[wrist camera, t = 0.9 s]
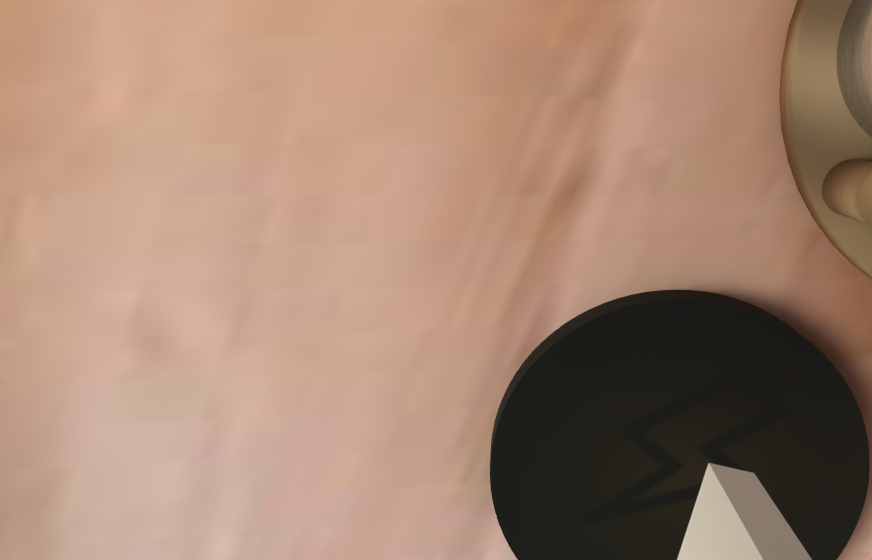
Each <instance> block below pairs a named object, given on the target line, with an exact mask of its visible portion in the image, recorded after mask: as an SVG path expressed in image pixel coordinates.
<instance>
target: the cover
mask: <svg viewBox="0 0 872 560" xmlns="http://www.w3.org/2000/svg"><path fill="white" fill-rule="evenodd" d="M836 60H837V76H838V81H839V86H840V90H841V93H842V96H843V99H844V102H845V104H846V106H847V108H848V110H849V111H850V113H851V115H852V116H853V118H854V119H855V121H856V122H857V123H858V125H859V126H860V127H861V128H862V129H863V130H864V131H865V132H866V133H867V134H868V135H869V136H870V137H872V0H853V1H852V3H851V5H850V7H849V9H848V11H847V13H846V16H845V19H844V21H843V24H842V27H841V31H840V36H839V40H838V46H837V58H836Z"/></svg>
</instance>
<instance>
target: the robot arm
mask: <svg viewBox="0 0 872 560" xmlns="http://www.w3.org/2000/svg"><path fill="white" fill-rule="evenodd" d="M677 560H812V559H811V557H810V556H809V554H808V553H807V551H806V550H805V548H804V547H803V545H802V544H801V542H800V541H799V539H798V538H797V537H796V535H795V534H794V532H793V531H792V529H791V528H790V526H789V525H788V523H787V522H786V520H785V519H784V517H783V516H782V514H781V513H780V511H779V510H778V508H777V507H776V505H775V504H774V502H773V501H772V499H771V498H770V496H769V495H768V493H767V492H766V490H765V489H764V487H763V486H762V484H761V483H760V481H759V480H758V478H757V477H756V475H755V474H754V473H751V472H747V471H742V470H738V469H734V468H729V467H725V466H720V465H716V464H711V463H708V466H707V469H706V472H705V475H704V478H703V482H702V485H701V488H700V491H699V494H698V497H697V500H696V503H695V506H694V509H693V512H692V515H691V518H690V522H689V525H688V528H687V531H686V534H685V537H684V540H683V543H682V546H681V549H680V552H679V555H678V558H677Z"/></svg>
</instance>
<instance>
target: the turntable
mask: <svg viewBox="0 0 872 560" xmlns="http://www.w3.org/2000/svg"><path fill="white" fill-rule="evenodd" d="M852 1H853V0H798V1H797V4H796V7H795V10H794V13H793V16H792V19H791V22H790V25H789V29H788V34H787V39H786V44H785V49H784V53H783V58H782V67H781V81H780V112H781V128H782V134H783V139H784V144H785V149H786V153H787V158H788V162H789V165H790V168H791V171H792V174H793V176H794V179H795V182H796V185H797V188H798V190H799V192H800V194H801V196H802V198H803V200H804V202H805V204H806V206H807V208H808V209H809V211H810V213H811V215H812V217H813V219H814V220H815V221H816V223H817V224H818V226H819V227H820V228H821V230H822V231H823V232H824V234H825V235H826V236H827V238H828V239H829V241H830V242H831V243H832V244H833V245H834V246H835V247H836V248H837V249H838V250H839V251H840V252H841V253H842V254H843V255H844V256H845V257H846V258H847V259H848V260H849V261H850V262H851V263H852V264H853V265H854V266H855V267H856V268H858V269H859V270H860V271H862V272H863V273H864V274H866V275H867V276H868V277H870V278H871V279H872V137H870V136H869V135H868V134H867V133H866V132H865V131H864V130H863V129H862V128H861V127H860V126H859V125H858V123H857V122H856V121H855V119H854V118H853V116H852V115H851V113H850V111H849V110H848V108H847V106H846V104H845V102H844V99H843V96H842V93H841V90H840V86H839V81H838V76H837V60H836V58H837V46H838V40H839V36H840V31H841V27H842V24H843V21H844V19H845V16H846V13H847V11H848V9H849V7H850V5H851V3H852Z"/></svg>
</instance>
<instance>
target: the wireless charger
mask: <svg viewBox="0 0 872 560" xmlns="http://www.w3.org/2000/svg"><path fill="white" fill-rule="evenodd" d="M708 463H711V464H716V465H720V466H725V467H729V468H734V469H738V470H742V471H747V472H751V473H754V474H755V475H756V477H757V478H758V480H759V481H760V483H761V484H762V486H763V487H764V489H765V490H766V492H767V493H768V495H769V496H770V498H771V499H772V501H773V502H774V504H775V505H776V507H777V508H778V510H779V511H780V513H781V514H782V516H783V517H784V519H785V520H786V522H787V523H788V525H789V526H790V528H791V529H792V531H793V532H794V534H795V535H796V537H797V538H798V539H799V541H800V542H801V544H802V545H803V547H804V548H805V550H806V551H807V553H808V554H809V556H810V557H811V559H812V560H836V559H837V558H838V557H839V555H840V554H841V552H842V551H843V549H844V548H845V546H846V545H847V543H848V541H849V539H850V537H851V535H852V534H853V532H854V529H855V527H856V525H857V523H858V520H859V517H860V515H861V512H862V509H863V505H864V501H865V498H866V493H867V487H868V481H869V447H868V439H867V434H866V429H865V425H864V422H863V419H862V415H861V412H860V410H859V407H858V405H857V402H856V400H855V398H854V396H853V394H852V392H851V390H850V388H849V387H848V385H847V383H846V382H845V380H844V379H843V377H842V376H841V374H840V373H839V372H838V370H837V369H836V368H835V366H834V365H833V364H832V363H831V362H830V361H829V360H828V358H827V357H826V356H825V355H824V354H823V353H822V352H821V351H820V350H819V349H817V348H816V347H815V346H814V345H813V344H812V343H811V342H809V341H808V340H807V339H806V338H804V337H803V336H802V335H800V334H799V333H798V332H797V331H795V330H794V329H793V328H791V327H790V326H789V325H788V324H786V323H785V322H783V321H781V320H780V319H778V318H777V317H775V316H774V315H772V314H770V313H768V312H766V311H764V310H763V309H760V308H758V307H756V306H754V305H751V304H749V303H746V302H743V301H741V300H738V299H735V298H731V297H727V296H724V295H719V294H714V293H709V292H701V291H692V290H661V291H652V292H644V293H639V294H634V295H629V296H626V297H622V298H618V299H615V300H612V301H609V302H606V303H604V304H601V305H599V306H597V307H594V308H592V309H590V310H588V311H586V312H584V313H582V314H580V315H578V316H576V317H575V318H573V319H572V320H570V321H569V322H567V323H565V324H564V325H563V326H561V327H560V328H558V329H557V330H556V331H554V332H553V333H552V334H551V335H550V336H548V337H547V338H546V339H545V340H544V341H543V342H542V343H541V344H540V345H539V346H538V347H537V348H536V349H535V350H534V351H533V352H532V353H531V354H530V355H529V357H528V358H527V359H526V360H525V361H524V363H523V364H522V365H521V367H520V368H519V370H518V371H517V372H516V374H515V376H514V377H513V379H512V381H511V382H510V384H509V386H508V388H507V390H506V392H505V394H504V396H503V399H502V401H501V404H500V406H499V409H498V413H497V416H496V419H495V424H494V428H493V433H492V442H491V460H490V482H491V492H492V499H493V504H494V508H495V512H496V515H497V519H498V522H499V525H500V527H501V529H502V532H503V534H504V537H505V538H506V540H507V542H508V544H509V546H510V548H511V550H512V551H513V553H514V554H515V556H516V558H517V559H518V560H677V558H678V555H679V552H680V549H681V546H682V543H683V540H684V537H685V534H686V531H687V528H688V525H689V522H690V518H691V515H692V512H693V509H694V506H695V503H696V500H697V497H698V494H699V491H700V488H701V485H702V482H703V478H704V475H705V472H706V469H707V466H708Z"/></svg>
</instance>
